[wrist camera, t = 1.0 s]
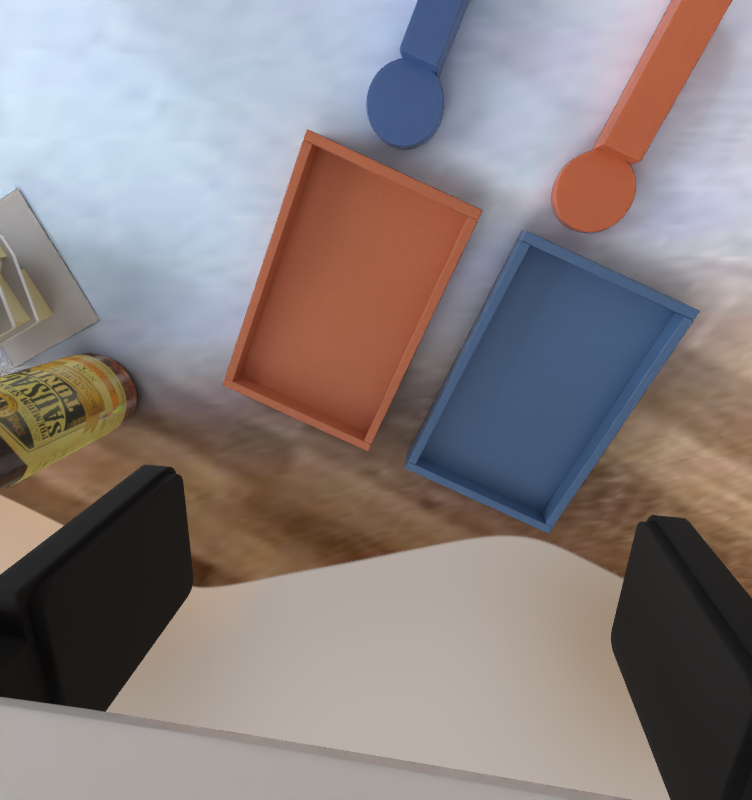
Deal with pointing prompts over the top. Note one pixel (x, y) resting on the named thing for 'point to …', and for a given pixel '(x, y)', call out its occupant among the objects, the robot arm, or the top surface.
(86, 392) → the sauce bottle
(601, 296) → the blue tray
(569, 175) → the terracotta spoon
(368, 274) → the terracotta tray
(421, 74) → the blue spoon
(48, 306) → the stacked layers on plate
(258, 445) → the top surface
